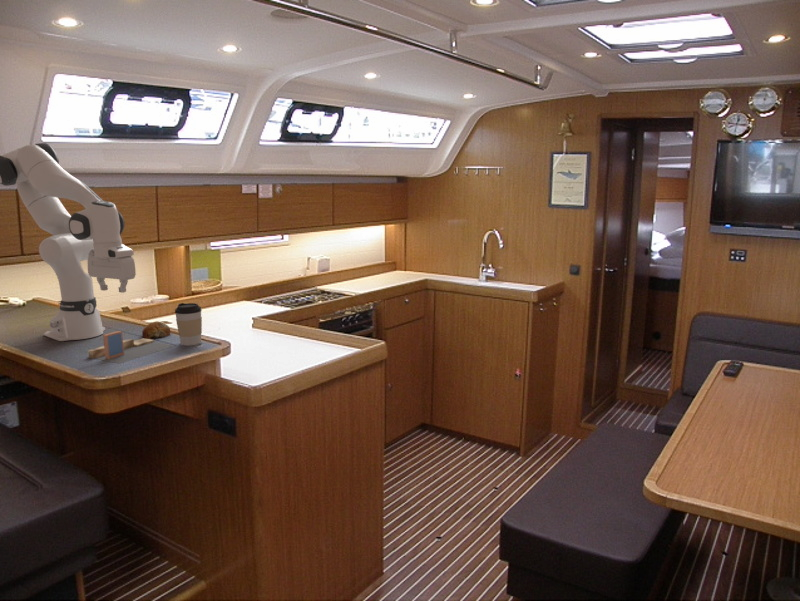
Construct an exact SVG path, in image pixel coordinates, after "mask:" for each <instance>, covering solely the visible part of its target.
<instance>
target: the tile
mask: <svg viewBox="0 0 800 601" xmlns="http://www.w3.org/2000/svg"><path fill="white" fill-rule="evenodd" d="M123 337H124V336H123V331H121V330H117V331H113V332H109V333H105V334H102V340H103V346H104V350H105V358H106V359H111V358H115V357H118V356H121V355H124V346H123V340H124V338H123Z"/></svg>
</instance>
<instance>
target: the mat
mask: <svg viewBox="0 0 800 601" xmlns="http://www.w3.org/2000/svg"><path fill="white" fill-rule="evenodd" d="M176 346H177V345H175V344H170V343H164V342H156V341H154V342H152V343H148V344H145V345H142V346H138V347H136V346H133V347H130V348H126V349H124V355H121V356H118V357H115V358H111V359H106V358H105V355H103V356H99V357H96V358H93V359H95V360H99V361H105V362H109V363H115V364H118V365H119V364H122V363H126V362H128V361H132V360H135V359H140V358H142V357H145V356H148V355H151V354H155V353H157V352H161V351H164V350H168V349H170V348H172V347H176Z"/></svg>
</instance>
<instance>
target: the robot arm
mask: <svg viewBox="0 0 800 601" xmlns="http://www.w3.org/2000/svg"><path fill="white" fill-rule="evenodd" d="M59 162H60V161H59V158H58V154H57V152H56V151H55V149H54V147H52V146H51V145H50V144H49V143H46V142H39V143H35V144H26V145H25V146H22V147H20V148H17V149H15V150H12V151H9V152H7V153H5V154H2V155H0V185H3V186H5V187H6V186H14V185H16V189H17V192H18V194H19V197H20V199H21V202H22V203H23V204H24V206H25V209H26V210H27V211H28V212H29V215H31V217H32V219H33V220H34V222H35V223H36V225H37V226H38V228H40V229H41V230H43V231H45V232H47V233H48V234H51V236H49V237H47V238H45V239H43V240H42V241H41V242H40V243H39V247H38V251H39V252H38V254H39V256H40V258H41V259H42V260H43V262H45V263H46V264H47V265H49V266H50V267H51V268H52V270H53V271H54V273H55V276H56V278H57V280H58V284H59V289H60V290H59V291H60V296H61V297H60V300H59V301H58V305H59V311H57V313H56V314H55V315H54V316H53V317H52V318H51V319H50V321H49V326H50V330H47V331H46V332H44V333H43V335H44V336H45V337H48V338H50V339H53V340H56V341H58V342H64V341H75V340H77V341H78V340H85V339H91V338H95V337H99V336H101V335H104V331H105V330H106V327H105V326H103V323H102V318H101V313H100V311H99V309H98V308H97V298H96V297H95V293H94V284H93V279H92V278H96V281H97V283H98V285H99V288H100V291H105V292H106V291H108V289H109V287H108V284H106V281H105V280H106V279H111V280H112V279H113V280H119V283H120V284H119V285H120V286H119V287H118V292H119V293H121V294H122V293H123V294H124V293H126V292H127V285H128V282H129V280H134V279H135V278H136V275H137V271H136V264H135V259H134V258H133V256H134V250H133V248H130V247H128V246H127V245H125V244H123V239H122V237H121V235H122V233H123V232H124V230H125V225H126V224H125V223H126V222H125V218H124V217H123V215H122V213H120V211H119V210H118V208H117V206H116V204H115V203H114V202H111V201H108V200H107V201H106V200H103V199H102V198H101V197H100V196H99V195H98V194H97V193H95V191H93V190H92V189H91V188H90V187H89V186H88V185H87V184H86V183H84V182H83V181H81V180H79V179H78V178H76V177H75V176H73V175H72V174H70V173H69V172H68V171H67V170H65V169H63V167H62V166H61V165H60V163H59ZM60 199H65V200H70V201H73V202H77V203H79V204H81V205H82V206H83V207H84V208H85V209H83V210H80V211H78V212H77V211H76V212H75V213H73V214H70V213H69V211H68V210H67V209H66V207H65V206H64V204H63V203H62V201H61V200H60ZM83 261H87V272H86V271H85V270H84V268H83V267H82V263H81V262H83Z"/></svg>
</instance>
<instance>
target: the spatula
mask: <svg viewBox="0 0 800 601" xmlns="http://www.w3.org/2000/svg"><path fill="white" fill-rule="evenodd" d="M154 340H155V339H145V338H143V337H142V338H138V339H136V340H134V339H132V338H127V339H123V346H124V349H126V348H130V347H133V346H136V347H138V346H142V345H145V344H148V343H152V342H155V341H154ZM87 352H88V359H89V358H90V359H94V358H96V357H99V356H103V355H105V350H104V345H103V346H99V347H96V348H93V349H88V350H87Z"/></svg>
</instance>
